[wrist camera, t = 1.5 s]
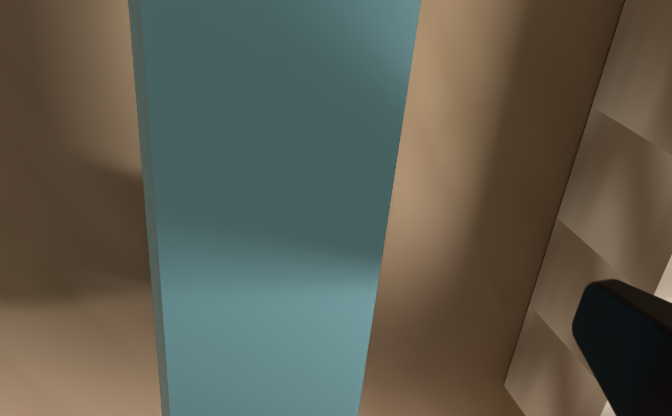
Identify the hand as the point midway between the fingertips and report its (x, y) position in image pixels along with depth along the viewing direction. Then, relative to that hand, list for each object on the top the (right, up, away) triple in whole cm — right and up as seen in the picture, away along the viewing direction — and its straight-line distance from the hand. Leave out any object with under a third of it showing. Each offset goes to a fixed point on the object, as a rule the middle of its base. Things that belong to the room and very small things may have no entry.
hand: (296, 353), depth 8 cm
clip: (-2, +4, +6) cm, 7 cm away
